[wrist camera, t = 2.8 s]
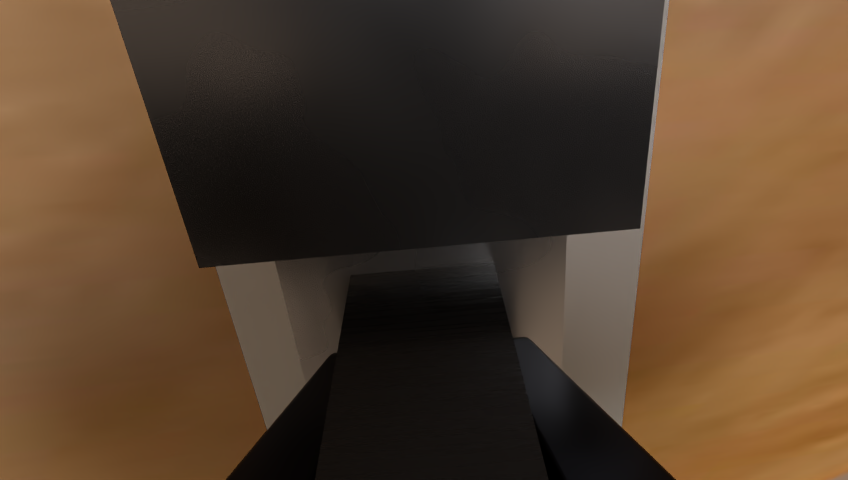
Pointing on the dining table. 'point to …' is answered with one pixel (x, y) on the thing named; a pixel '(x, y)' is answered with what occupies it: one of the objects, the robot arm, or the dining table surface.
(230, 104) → the outer sleeve
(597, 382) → the base board
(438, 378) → the grey bar with tab
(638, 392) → the dining table surface
